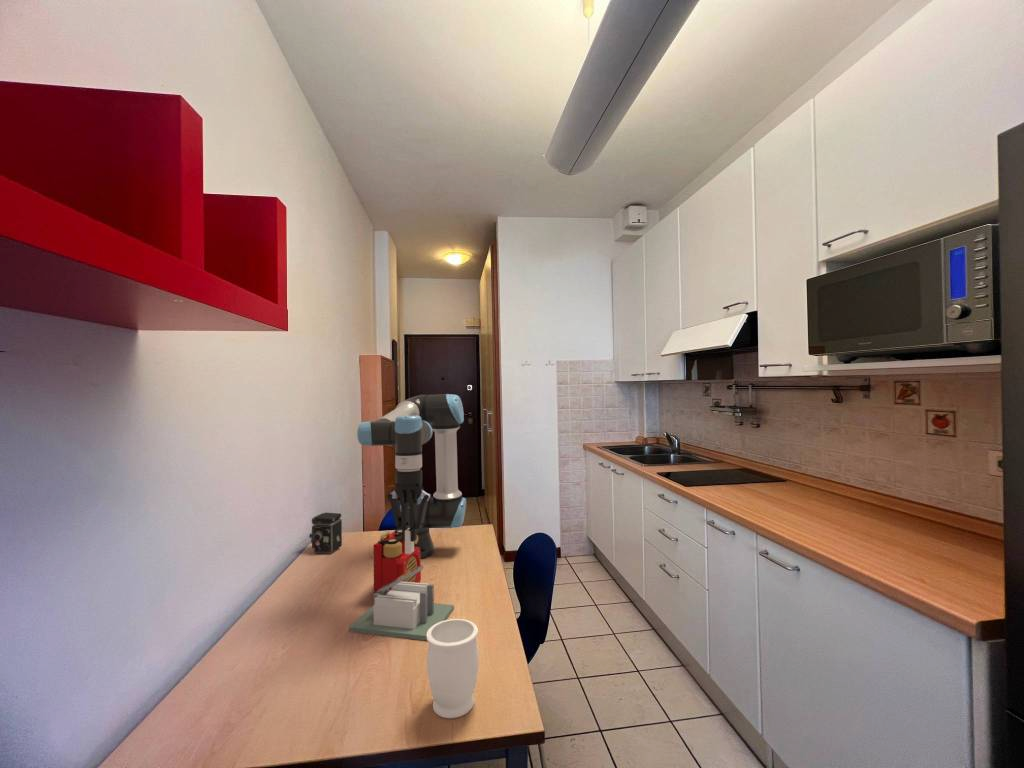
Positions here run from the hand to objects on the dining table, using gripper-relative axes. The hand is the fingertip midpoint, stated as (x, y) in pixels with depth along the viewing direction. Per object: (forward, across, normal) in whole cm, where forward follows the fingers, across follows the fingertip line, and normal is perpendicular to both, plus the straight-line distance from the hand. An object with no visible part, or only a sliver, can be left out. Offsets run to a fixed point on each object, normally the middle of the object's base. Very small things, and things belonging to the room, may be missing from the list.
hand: (409, 552), depth 122 cm
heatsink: (+19, -2, 0) cm, 19 cm away
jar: (+20, +24, -29) cm, 42 cm away
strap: (+9, -3, 0) cm, 10 cm away
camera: (+19, -61, +45) cm, 78 cm away
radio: (+19, -12, +16) cm, 28 cm away
